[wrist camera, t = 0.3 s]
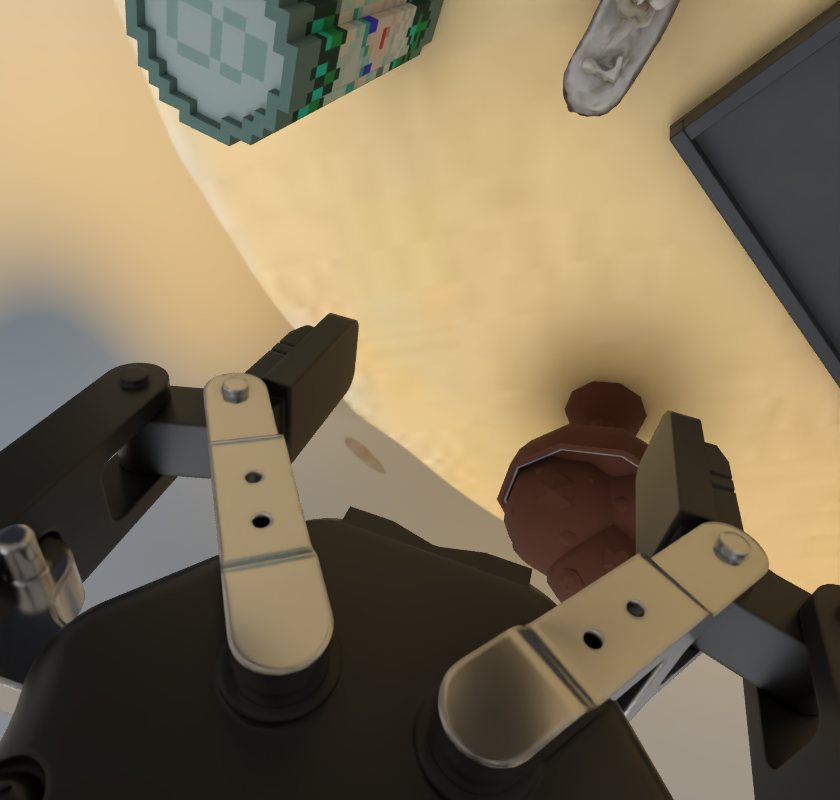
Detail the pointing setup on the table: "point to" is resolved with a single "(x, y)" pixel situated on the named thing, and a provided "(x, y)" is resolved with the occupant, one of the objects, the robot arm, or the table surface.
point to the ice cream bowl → (578, 490)
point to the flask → (613, 53)
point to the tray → (781, 173)
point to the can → (270, 55)
